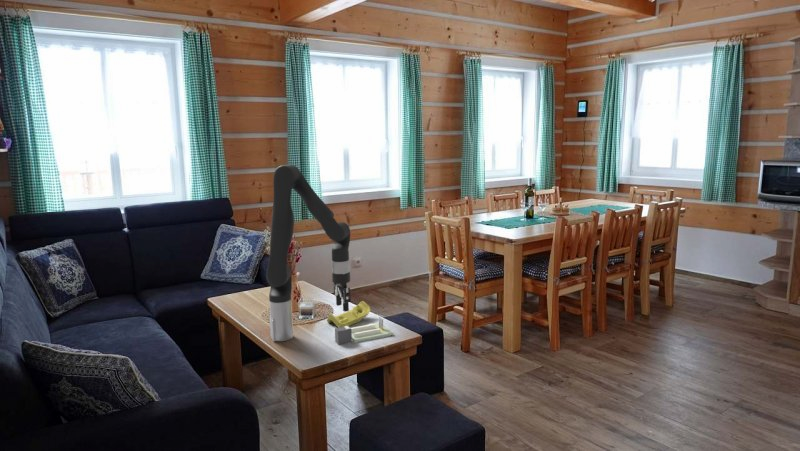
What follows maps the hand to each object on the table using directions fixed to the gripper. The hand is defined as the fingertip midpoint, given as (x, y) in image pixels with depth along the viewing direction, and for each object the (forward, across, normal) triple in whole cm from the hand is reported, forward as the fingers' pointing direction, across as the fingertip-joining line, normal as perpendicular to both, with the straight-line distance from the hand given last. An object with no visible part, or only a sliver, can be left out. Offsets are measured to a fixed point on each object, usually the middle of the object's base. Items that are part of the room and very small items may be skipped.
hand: (342, 308), depth 229 cm
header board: (+15, -4, +13) cm, 20 cm away
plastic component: (+15, -22, +11) cm, 29 cm away
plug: (+15, 0, 0) cm, 15 cm away
